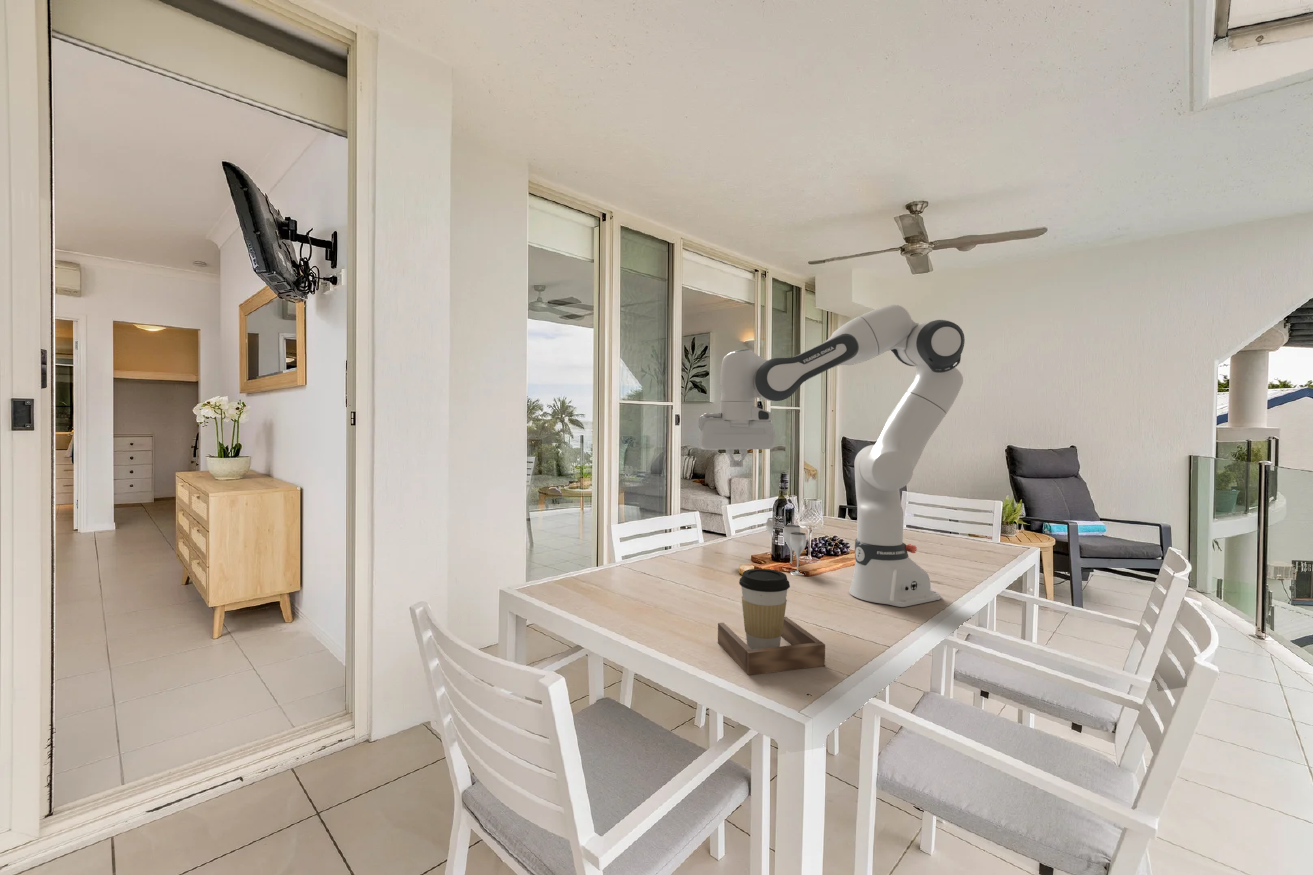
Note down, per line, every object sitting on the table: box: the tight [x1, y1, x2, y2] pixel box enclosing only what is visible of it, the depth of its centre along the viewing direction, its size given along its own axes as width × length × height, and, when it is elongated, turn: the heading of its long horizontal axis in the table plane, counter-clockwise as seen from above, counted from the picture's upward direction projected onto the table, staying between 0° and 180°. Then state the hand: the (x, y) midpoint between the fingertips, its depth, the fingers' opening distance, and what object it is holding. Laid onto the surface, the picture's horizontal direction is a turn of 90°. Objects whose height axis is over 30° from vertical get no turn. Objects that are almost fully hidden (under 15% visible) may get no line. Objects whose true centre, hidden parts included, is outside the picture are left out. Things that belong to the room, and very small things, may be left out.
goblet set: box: [765, 517, 807, 576], centre depth 174 cm, size 28×6×13 cm, turn 5°
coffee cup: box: [738, 568, 791, 650], centre depth 109 cm, size 10×10×15 cm
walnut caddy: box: [717, 616, 826, 676], centre depth 107 cm, size 15×15×4 cm
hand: (736, 467), depth 142 cm, fingers closed
